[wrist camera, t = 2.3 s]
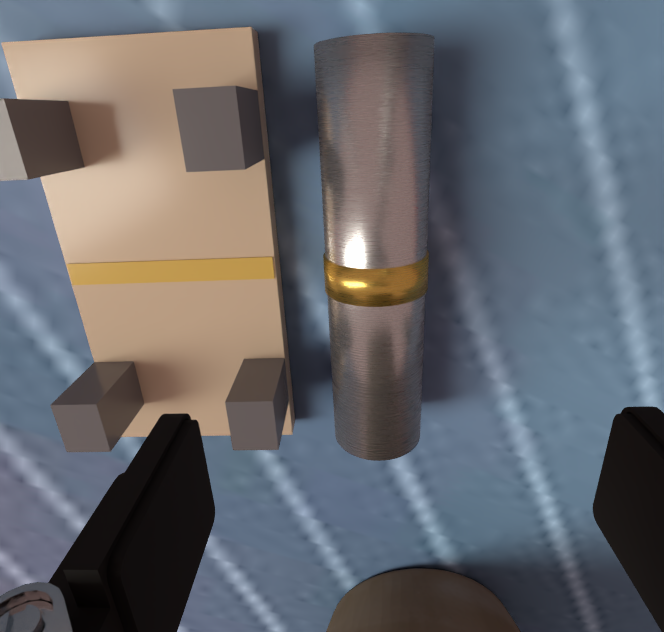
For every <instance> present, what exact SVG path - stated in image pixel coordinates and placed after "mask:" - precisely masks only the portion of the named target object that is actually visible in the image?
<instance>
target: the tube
mask: <svg viewBox="0 0 664 632" xmlns="http://www.w3.org/2000/svg"><path fill="white" fill-rule="evenodd" d="M434 40H435V38H434V36H432V35H428V34H421V33H376V34H363V35H353V36H345V37H339V38H333V39H328V40H324V41H320V42H318V43H316V44H314V59H315V77H316V95H317V113H318V131H319V149H320V167H321V186H322V204H323V222H324V240H325V253H324V255H323V258H324V276H325V291H326V294H327V295H328V312H329V331H330V349H331V367H332V385H333V403H334V421H335V436H336V440H337V442H338V443H339V445H340V446H341V447H342V448H343V449H344V450H345V451H347V452H348V453H350V454H352V455H354V456H356V457H359V458H363V459H367V460H378V461H380V460H390V459H395V458H398V457H401V456H403V455H405V454H407V453H409V452H410V451H411V450H413V449H414V448H415V446H416V445H417V444H418V442H419V439H420V425H421V398H422V370H423V343H424V315H425V293H426V292H427V288H428V262H429V252H428V251H427V232H428V205H429V177H430V150H431V122H432V95H433V67H434Z"/></svg>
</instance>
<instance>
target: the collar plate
mask: <svg viewBox="0 0 664 632" xmlns="http://www.w3.org/2000/svg"><path fill="white" fill-rule="evenodd" d="M2 47H3V50H4V54H5V57H6V61H7V64H8V67H9V71H10V74H11V78H12V81H13V85H14V88H15V91H16V95H17V98H18V99H0V181H5V180H27V179H33V178H37V177H41V181H42V184H43V187H44V191H45V194H46V198H47V201H48V205H49V208H50V211H51V215H52V218H53V222H54V225H55V229H56V232H57V235H58V239H59V242H60V246H61V249H62V253H63V256H64V259H65V263H66V266H67V270H68V273H69V276H70V280H71V283H72V287H73V290H74V294H75V297H76V300H77V304H78V307H79V311H80V314H81V318H82V321H83V324H84V328H85V331H86V335H87V338H88V342H89V345H90V348H91V352H92V355H93V359H94V363H93V364H92V365H91V366H90V367H89V368H88V369H87V370H86V371H85V372H84V373H83V374H82V375H81V376H80V377H79V378H78V379H77V380H76V381H75V382H74V383H73V384H72V385H71V386H70V387H69V388H68V389H66V390H65V391H64V392H63V393H62V394H61V395H60V396H59V397H58V398H57V399H56V400H55V401H54V402H53V403H52V404H51V408H52V411H53V414H54V417H55V420H56V422H57V425H58V428H59V431H60V434H61V437H62V440H63V442H64V445H65V448H66V451H67V452H111V450H112V449H113V447H114V446H115V445H116V443H117V442H118V440H119V439H120V438H121V437H144V436H148V435H149V433H150V432H151V430H152V429H153V427H154V426H155V424H156V422H157V421H158V419H159V418H160V416H161V415H162V414H179V413H187V414H189V415H190V417H191V420H197V421H198V423H199V427H200V432H201V436H218V435H231V441H232V447H233V450H279V445H280V441H281V436H282V435H292V434H293V429H294V423H295V414H294V404H293V393H292V383H291V373H290V362H289V352H288V342H287V331H286V321H285V311H284V300H283V290H282V280H281V269H280V259H279V249H278V238H277V228H276V218H275V208H274V197H273V187H272V177H271V166H270V156H269V146H268V135H267V125H266V115H265V104H264V94H263V84H262V73H261V63H260V53H259V42H258V32H257V31H255V30H254V29H253V28H252V27H241V28H225V29H209V30H193V31H177V32H162V33H146V34H130V35H114V36H98V37H82V38H66V39H50V40H34V41H18V42H2Z"/></svg>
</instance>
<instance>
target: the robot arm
mask: <svg viewBox="0 0 664 632" xmlns="http://www.w3.org/2000/svg"><path fill="white" fill-rule="evenodd" d="M593 514H594V518H595V521H596V523H597V525H598V526H599V528H600V530H601V531H602V533H603V535H604V536H605V538H606V539H607V541H608V543H609V544H610V546H611V548H612V549H613V551H614V553H615V554H616V556H617V558H618V559H619V561H620V563H621V564H622V566H623V568H624V569H625V571H626V573H627V574H628V576H629V578H630V579H631V581H632V583H633V584H634V586H635V588H636V589H637V591H638V593H639V594H640V596H641V598H642V599H643V601H644V603H645V604H646V606H647V608H648V609H649V611H650V613H651V614H652V616H653V618H654V619H655V621H656V623H657V624H658V626H659V628H660V629H661V631H662V632H664V413H663V412H662V411H661V410H660V409H658V408H657V407H626V408H624V409H623V410H622V412H621V414H617V415H616V416H615V417H614V420H613V424H612V428H611V432H610V436H609V440H608V444H607V449H606V453H605V457H604V461H603V465H602V470H601V474H600V478H599V482H598V486H597V490H596V495H595V499H594V503H593ZM214 518H215V505H214V500H213V495H212V490H211V485H210V479H209V474H208V469H207V464H206V459H205V453H204V448H203V443H202V438H201V432H200V427H199V423H198V421H197V420H191V417H190V415H189V414H187V413H179V414H162V415H161V416H160V418H159V419H158V421H157V422H156V424H155V426H154V427H153V429H152V430H151V432H150V433H149V435H148V437H147V438H146V440H145V441H144V443H143V444H142V446H141V448H140V449H139V451H138V452H137V454H136V456H135V457H134V459H133V460H132V462H131V463H130V465H129V467H128V468H127V470H126V471H125V473H122V474H120V475H119V476H118V477H117V478H116V479H115V480H114V482H113V484H112V485H111V487H110V488H109V490H108V491H107V493H106V494H105V496H104V497H103V499H102V501H101V502H100V504H99V505H98V507H97V508H96V510H95V511H94V513H93V514H92V516H91V518H90V519H89V521H88V522H87V524H86V525H85V527H84V528H83V530H82V531H81V533H80V535H79V536H78V538H77V539H76V541H75V542H74V544H73V545H72V547H71V548H70V550H69V552H68V553H67V555H66V556H65V558H64V559H63V561H62V562H61V564H60V565H59V567H58V569H57V570H56V572H55V573H54V575H53V576H52V578H51V579H50V581H49V582H48V583H43V582H36V583H30V584H25V585H22V586H20V587H17V588H15V589H12V590H10V591H8V592H6V593H5V594H3V595H1V596H0V632H177V630H178V627H179V624H180V621H181V618H182V615H183V612H184V609H185V606H186V603H187V600H188V597H189V594H190V591H191V588H192V585H193V582H194V579H195V576H196V573H197V571H198V568H199V565H200V562H201V559H202V556H203V553H204V550H205V547H206V544H207V541H208V538H209V535H210V532H211V529H212V526H213V523H214Z"/></svg>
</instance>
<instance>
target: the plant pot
mask: <svg viewBox="0 0 664 632" xmlns="http://www.w3.org/2000/svg"><path fill="white" fill-rule="evenodd" d="M326 632H520V630H519V628H518V627H517V625H516V624H515V622H514V620H513V619H512V617H511V616H510V614H509V613H508V611H507V610H506V608H505V607H504V605H503V604H502V603H501V601H500V600H499V599H498V598H497V597H496V596H495V595H494V594H493V593H492V592H491V591H490V590H488V589H487V588H486V587H484V586H483V585H481V584H479V583H478V582H476V581H474V580H472V579H470V578H467V577H465V576H462V575H460V574H456V573H453V572H449V571H444V570H437V569H404V570H396V571H391V572H387V573H383V574H380V575H377V576H375V577H372V578H370V579H368V580H365V581H364V582H362V583H360V584H358V585H357V586H355V587H354V588H353V589H351V590H350V591H349V592H348V593H347V594H345V596H344V597H343V598H342V599H341V601H340V602H339V603H338V605H337V607H336V609H335V611H334V613H333V616H332V618H331V621H330V623H329V626H328V628H327V631H326Z"/></svg>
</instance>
